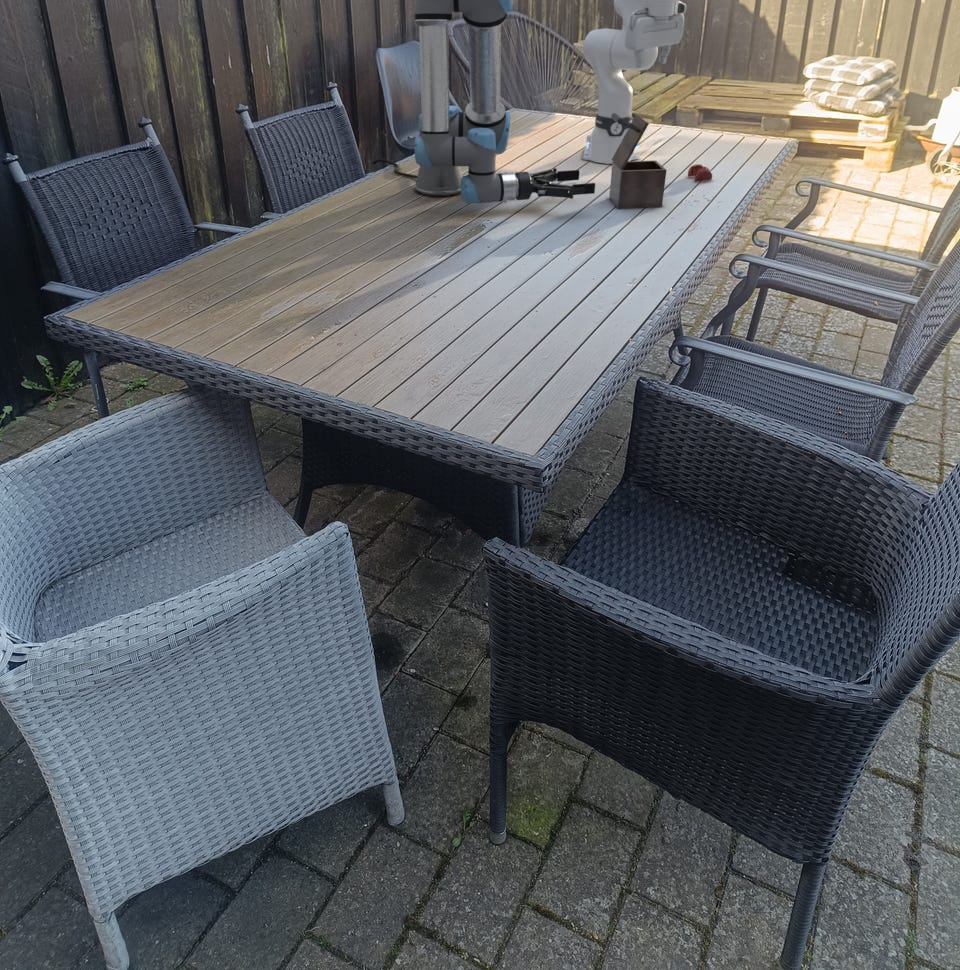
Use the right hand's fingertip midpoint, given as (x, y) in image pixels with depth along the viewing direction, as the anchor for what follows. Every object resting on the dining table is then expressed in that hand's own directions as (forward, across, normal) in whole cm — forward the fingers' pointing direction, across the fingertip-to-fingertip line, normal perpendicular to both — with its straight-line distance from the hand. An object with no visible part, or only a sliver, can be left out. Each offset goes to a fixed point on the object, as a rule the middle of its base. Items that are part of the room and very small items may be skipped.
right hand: (651, 65), depth 227 cm
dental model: (+36, +34, +2) cm, 50 cm away
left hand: (+30, -14, +8) cm, 34 cm away
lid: (+20, -3, +2) cm, 20 cm away
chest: (+37, 0, 0) cm, 37 cm away
